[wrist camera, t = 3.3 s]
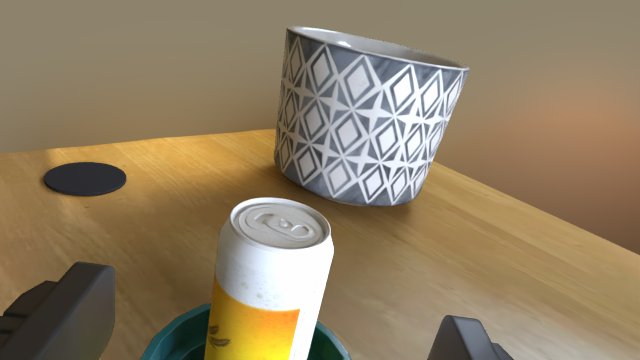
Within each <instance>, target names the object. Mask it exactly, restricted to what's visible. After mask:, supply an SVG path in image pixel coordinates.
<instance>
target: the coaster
mask: <svg viewBox="0 0 640 360" xmlns="http://www.w3.org/2000/svg"><path fill="white" fill-rule="evenodd" d="M44 181H45V184H46V185H47V186H48V187H49V188H50V189H52V190H54V191H57V192H60V193H63V194H68V195H78V196H90V195H100V194H105V193H109V192H112V191H115V190H117V189H119V188H121V187H122V186H123V185H124V184H125V182H126V174H125V173H124V172H123V171H122V170H121V169H119V168H117V167H114V166H111V165H108V164H103V163H94V162H79V163H70V164H65V165H61V166H58V167H55V168H53V169H51V170H49V171H48V172H47V173H46V174H45V176H44Z"/></svg>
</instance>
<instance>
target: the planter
mask: <svg viewBox="0 0 640 360" xmlns="http://www.w3.org/2000/svg"><path fill="white" fill-rule="evenodd" d="M469 69H470V68H469V67H468V66H467V65H465V64H463V63H460V62H458V61H455V60H452V59H449V58H445V57H442V56H439V55H435V54H431V53H428V52H424V51H421V50H417V49H413V48H409V47H405V46H401V45H397V44H392V43H388V42H384V41H380V40H375V39H371V38H366V37H361V36H356V35H351V34H346V33H341V32H336V31H330V30H324V29H318V28H311V27H303V26H288V27H287V32H286V41H285V52H284V61H283V72H282V81H281V91H280V101H279V111H278V121H277V131H276V141H275V151H274V160H275V164H276V166H277V168H278V169H279V170H280V172H281V173H282V174H283V175H284V176H285V177H287V178H288V179H289V180H291V181H292V182H294V183H295V184H297V185H299V186H300V187H302V188H304V189H306V190H308V191H311V192H313V193H314V194H316V195H318V196H320V197H323V198H325V199H328V200H331V201H334V202H338V203H342V204H347V205H354V206H380V207H381V206H395V205H400V204H404V203H407V202H409V201H411V200H413V199H414V198H415V197H416V196H417V195H418V194H419V192H420V190H421V188H422V185H423V183H424V180H425V178H426V175H427V173H428V171H429V168H430V166H431V163H432V161H433V158H434V156H435V153H436V151H437V148H438V146H439V143H440V141H441V138H442V135H443V133H444V131H445V128H446V126H447V123H448V121H449V119H450V116H451V114H452V111H453V109H454V106H455V104H456V101H457V99H458V96H459V94H460V91H461V89H462V87H463V84H464V82H465V79H466V77H467V74H468V72H469Z"/></svg>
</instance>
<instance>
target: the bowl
mask: <svg viewBox="0 0 640 360" xmlns="http://www.w3.org/2000/svg"><path fill="white" fill-rule="evenodd" d="M210 308H211V303H209V304H205V305H202V306H199V307H197V308H195V309H193V310H191V311H189V312H187V313H185V314H183V315H181V316H178V317H177V318H175V319H174V320H173V321H172V322H171V323H170V324H168V325H167V326H166V327H165V328H164V329H163V330H161V331H160V332H159V333H158V334H157V335H156V336H155V337H154V338H153V339H152V341H151V343H150V344H149V346H148V347H147V349H146V351H145V352H144V354H143V356H142V357H141V359H140V360H204V357H205V349H206V341H207V333H208V325H209V316H210ZM307 360H351V357H350V355H349V353H348V352H347V351H346V349H345V348H344V347H343V345H342V344H341V343H340V341H339V340H338V339H337V337H336V336H335V335H334V334H333V333H332V332H331V331H330V330H329V329H327V328H326V327H325V326H323V325H322V324H321V323H320V322H318V321H316V325H315V329H314V333H313V337H312V341H311V345H310V349H309V353H308V357H307Z"/></svg>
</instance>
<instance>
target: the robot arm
mask: <svg viewBox="0 0 640 360" xmlns="http://www.w3.org/2000/svg"><path fill="white" fill-rule="evenodd" d="M114 322H115V270H114V268H113V267H112V266H107V265H100V264H93V263H86V262H76V263H75V264H74V265H72V267H71V268H70V269H69V270H68V271H67V272H66V273H65V274H64V275H63V277H62V278H61V279H60V280H59V281H58V282H54V281H44V282H43V283H41V284H39V285H37V286H35V287H34V288H32V289H30V290H28V291H26V292H25V293H23V294H21V295H20V296H19V297H18V298H17V299H16V300H15V301H14V302H13V303H12V304H11V305H10V306H9V308H8V309H7V310H6V311H5V312H4V314H3V316H0V360H99V358H100V357H101V355H102V353H103V351H104V350H105V348H106V346H107V344H108V342H109V340H110V337H111V335H112V331H113V327H114ZM427 360H514V359H513V358H512V357H511V356H510V355H509V354H508V353H507V352H506V351H505V350H504V349H503V348H502V347H501V346H500V345H499V344H497V343H492V342H491V340H490V338H489V337H488V335H487V333H486V331H485V329H484V327H483V325H482V324H481V322H480V321H479V320H477V319H473V318H465V317H458V316H451V315H447V316H445V317H444V319H443V320H442V323H441V325H440V328H439V330H438V333H437V335H436V338H435V341H434V343H433V346H432V348H431V351H430V353H429V356H428V359H427Z"/></svg>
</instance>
